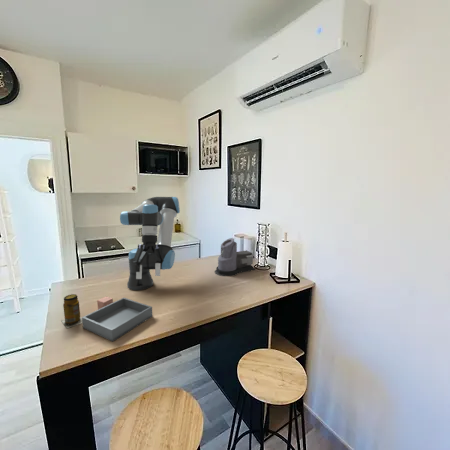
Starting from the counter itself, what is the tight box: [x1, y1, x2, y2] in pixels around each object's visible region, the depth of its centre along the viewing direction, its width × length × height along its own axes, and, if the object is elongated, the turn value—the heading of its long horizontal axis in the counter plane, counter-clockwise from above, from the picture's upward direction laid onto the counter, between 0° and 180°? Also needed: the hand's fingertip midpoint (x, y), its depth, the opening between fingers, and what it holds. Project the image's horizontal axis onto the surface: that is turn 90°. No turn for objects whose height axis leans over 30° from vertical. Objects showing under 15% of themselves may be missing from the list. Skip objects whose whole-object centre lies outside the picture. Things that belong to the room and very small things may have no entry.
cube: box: [96, 295, 114, 310], centre depth 123 cm, size 5×5×5 cm
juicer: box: [214, 237, 256, 277], centre depth 177 cm, size 30×16×24 cm, turn 118°
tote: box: [81, 297, 153, 342], centre depth 111 cm, size 20×22×5 cm
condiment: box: [61, 293, 83, 329], centre depth 111 cm, size 7×8×12 cm
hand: (148, 277), depth 123 cm, fingers open, 13 cm apart
